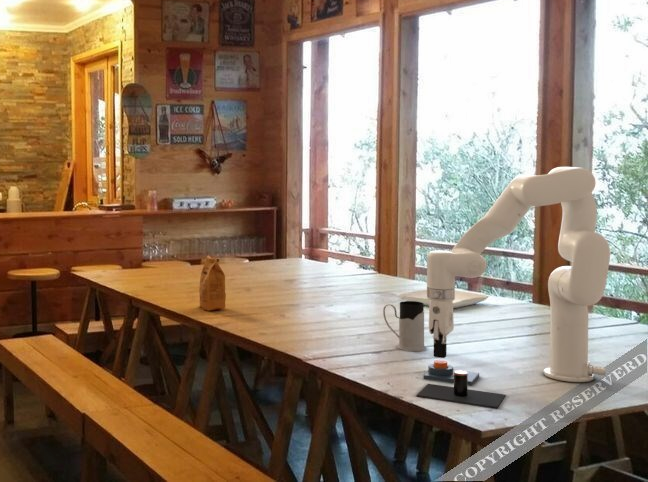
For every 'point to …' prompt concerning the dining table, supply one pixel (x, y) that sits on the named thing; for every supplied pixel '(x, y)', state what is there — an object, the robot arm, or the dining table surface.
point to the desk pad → (472, 398)
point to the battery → (460, 383)
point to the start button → (440, 364)
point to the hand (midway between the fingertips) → (439, 356)
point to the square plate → (459, 301)
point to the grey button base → (447, 374)
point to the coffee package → (212, 285)
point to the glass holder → (410, 325)
